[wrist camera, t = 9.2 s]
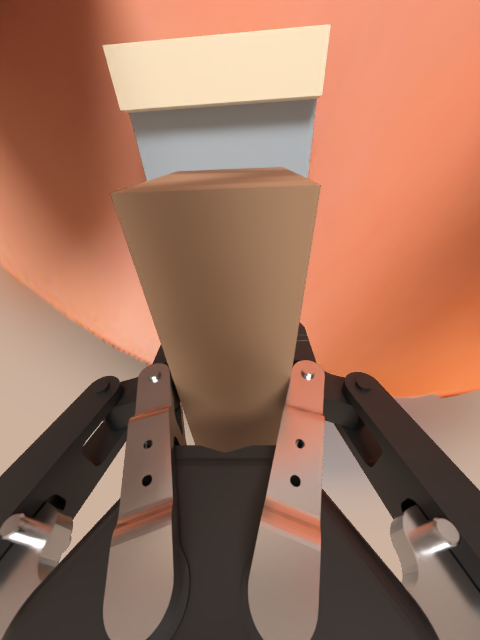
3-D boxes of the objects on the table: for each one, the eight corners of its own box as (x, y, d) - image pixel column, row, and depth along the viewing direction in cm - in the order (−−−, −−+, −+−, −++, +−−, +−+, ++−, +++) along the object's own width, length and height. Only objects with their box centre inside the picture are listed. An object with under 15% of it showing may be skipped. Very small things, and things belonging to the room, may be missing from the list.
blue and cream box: (307, 58, 18) (330, 24, 13) (284, 324, 36) (290, 354, 30) (141, 72, 19) (102, 45, 14) (196, 326, 36) (188, 355, 31)
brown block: (282, 166, 9) (320, 185, 5) (268, 386, 19) (276, 468, 14) (177, 171, 10) (109, 193, 5) (214, 386, 19) (203, 468, 14)
